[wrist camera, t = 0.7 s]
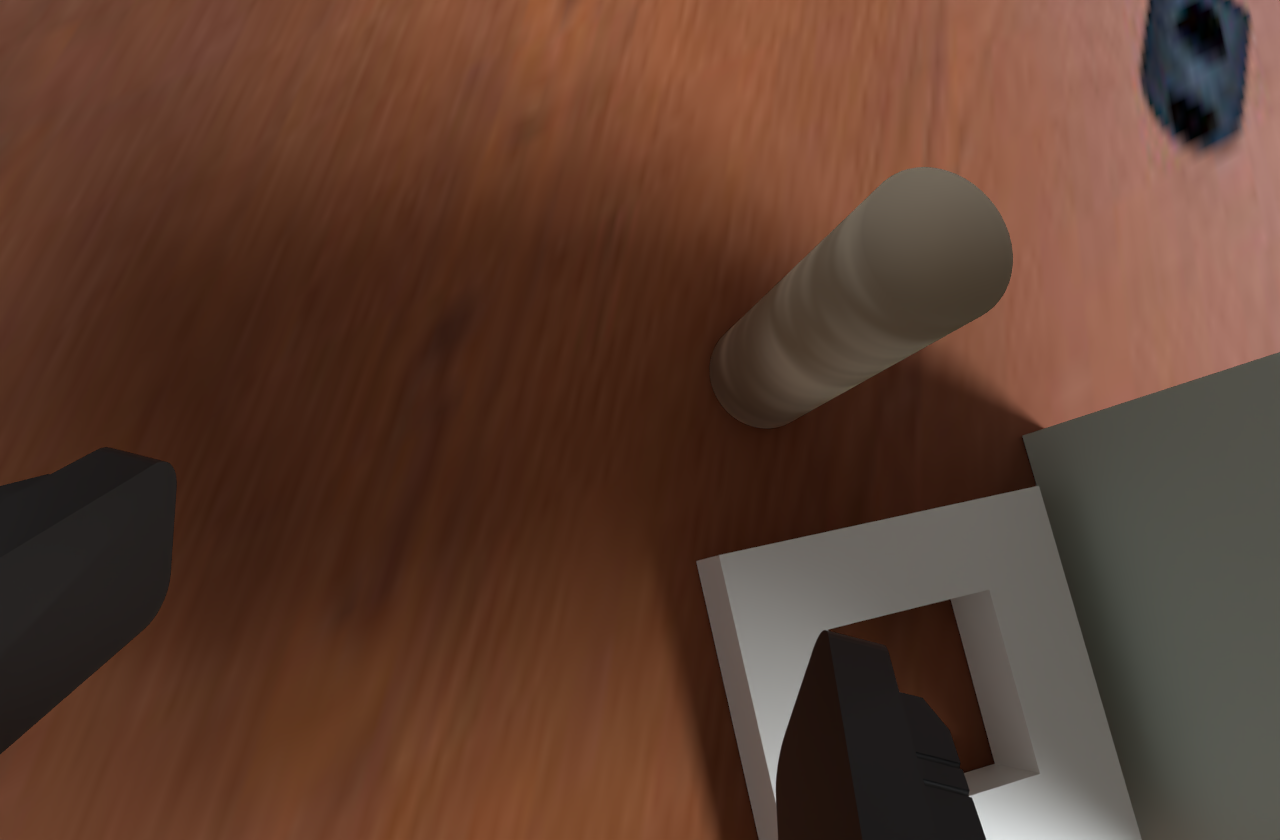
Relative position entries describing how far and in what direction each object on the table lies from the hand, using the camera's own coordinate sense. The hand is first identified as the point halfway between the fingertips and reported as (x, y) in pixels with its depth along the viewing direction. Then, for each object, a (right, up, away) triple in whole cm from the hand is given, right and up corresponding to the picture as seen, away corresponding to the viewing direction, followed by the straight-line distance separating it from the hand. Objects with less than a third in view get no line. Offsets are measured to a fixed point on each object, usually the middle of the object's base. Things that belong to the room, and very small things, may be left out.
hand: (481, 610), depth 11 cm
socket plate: (+11, -7, +21) cm, 25 cm away
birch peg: (+6, +4, +23) cm, 24 cm away
